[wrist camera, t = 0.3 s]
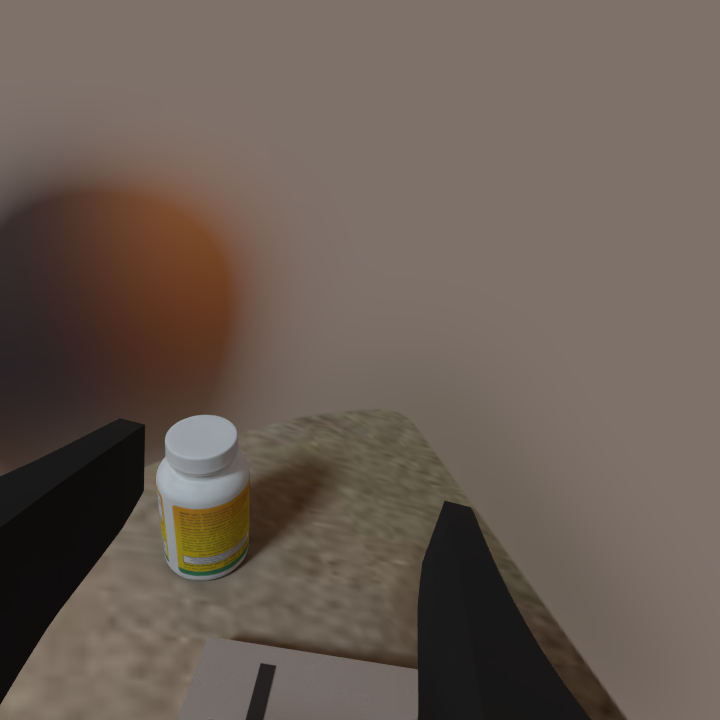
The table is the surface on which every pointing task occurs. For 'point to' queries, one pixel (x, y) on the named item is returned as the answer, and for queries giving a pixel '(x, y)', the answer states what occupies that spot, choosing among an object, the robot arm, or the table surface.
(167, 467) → the supplement bottle
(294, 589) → the table surface
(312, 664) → the fader panel
